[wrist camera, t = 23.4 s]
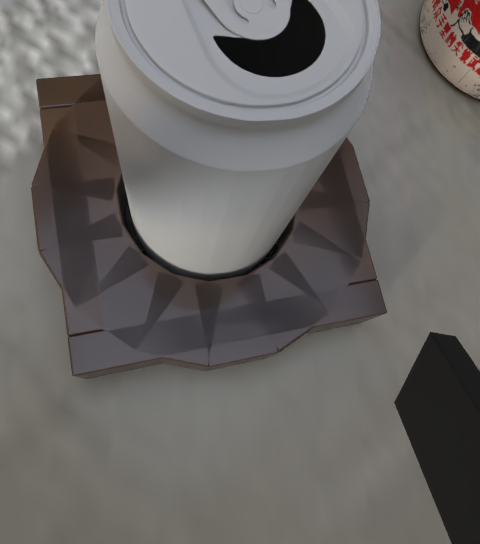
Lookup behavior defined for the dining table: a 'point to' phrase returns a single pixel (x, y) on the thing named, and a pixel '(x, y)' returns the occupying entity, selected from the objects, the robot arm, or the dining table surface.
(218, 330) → the socket pad
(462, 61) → the teacup with lid
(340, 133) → the beverage can
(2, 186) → the dining table surface
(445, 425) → the robot arm
